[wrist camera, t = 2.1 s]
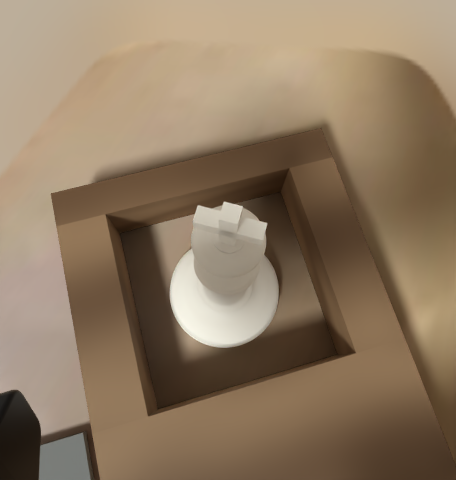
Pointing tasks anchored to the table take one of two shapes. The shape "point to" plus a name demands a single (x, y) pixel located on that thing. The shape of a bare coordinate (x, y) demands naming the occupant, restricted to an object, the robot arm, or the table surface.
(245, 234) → the chess piece
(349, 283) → the brown slab with hole
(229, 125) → the table surface
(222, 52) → the table surface
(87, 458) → the rubber mat
